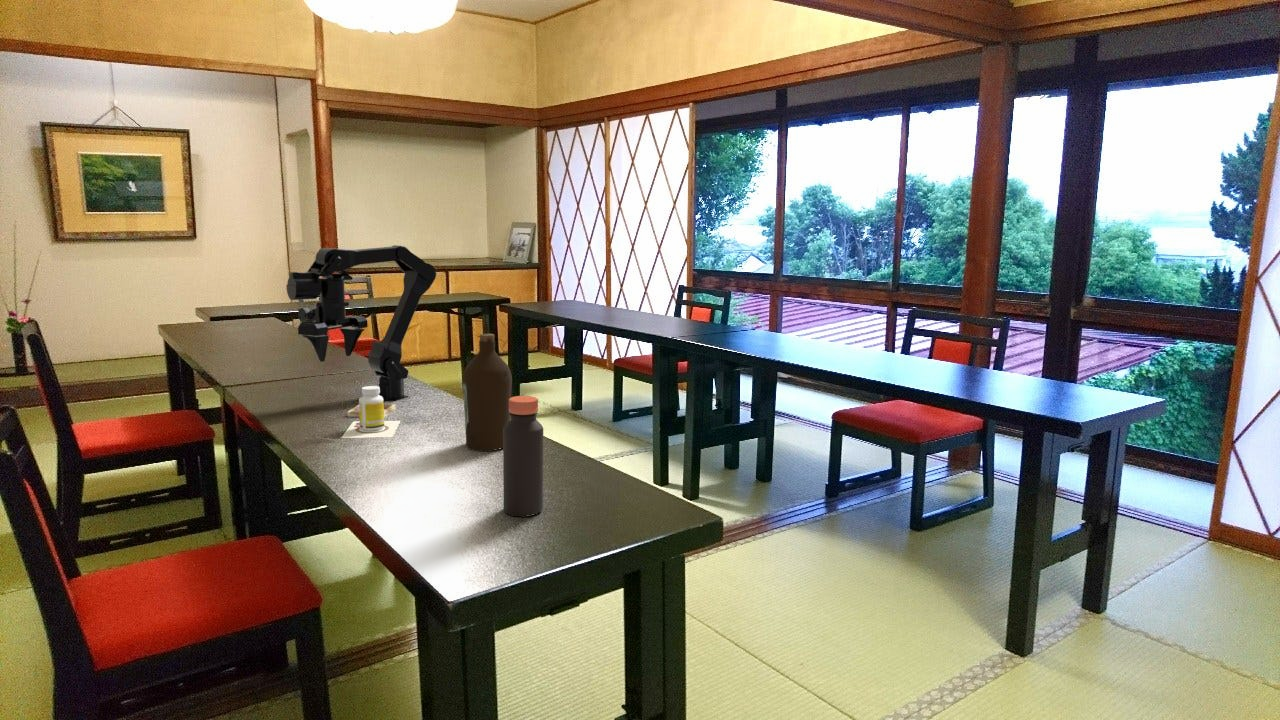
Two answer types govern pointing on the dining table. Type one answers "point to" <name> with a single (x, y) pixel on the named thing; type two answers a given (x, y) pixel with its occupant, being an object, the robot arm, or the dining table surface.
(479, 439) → the brown rum bottle
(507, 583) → the dining table surface
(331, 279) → the robot arm
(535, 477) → the vinegar
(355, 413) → the masu tray
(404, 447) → the dining table surface
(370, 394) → the supplement bottle
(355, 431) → the card
